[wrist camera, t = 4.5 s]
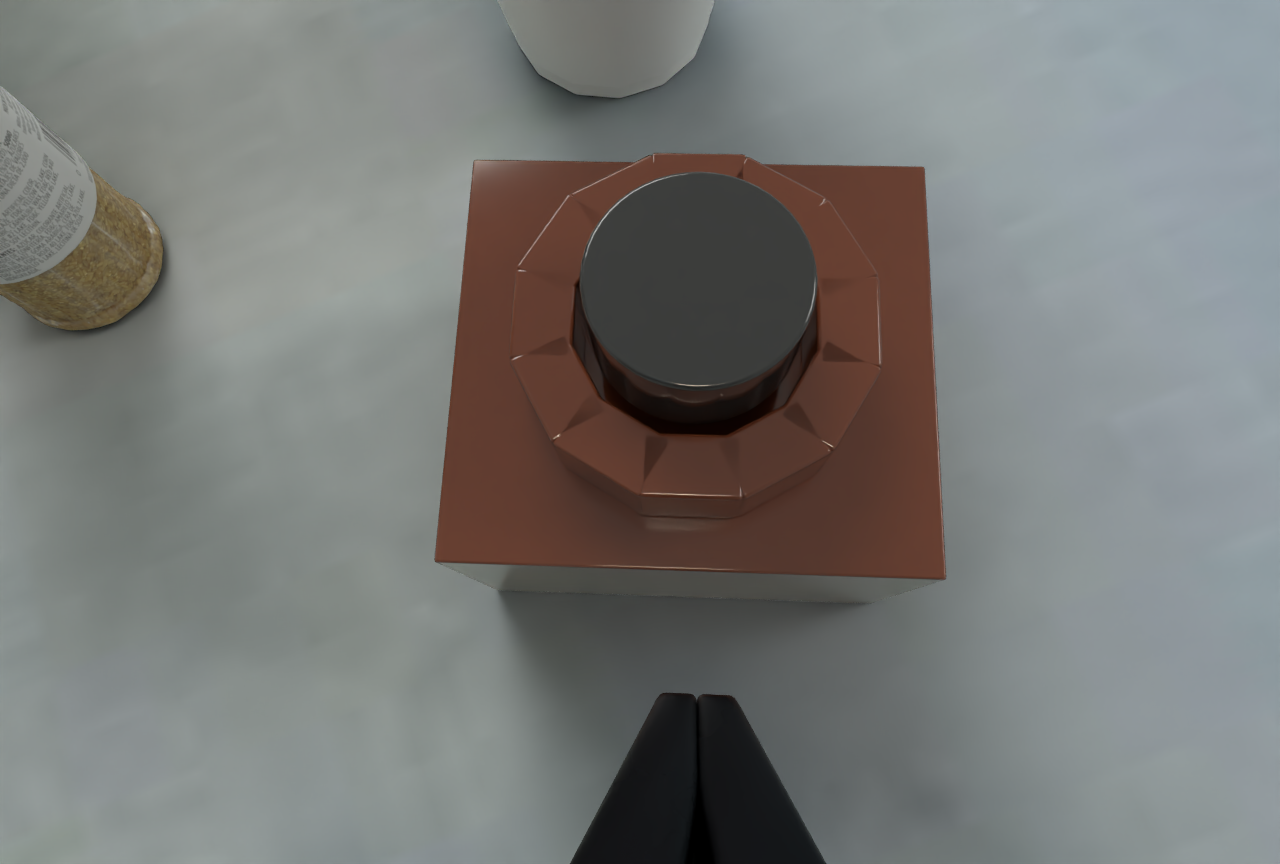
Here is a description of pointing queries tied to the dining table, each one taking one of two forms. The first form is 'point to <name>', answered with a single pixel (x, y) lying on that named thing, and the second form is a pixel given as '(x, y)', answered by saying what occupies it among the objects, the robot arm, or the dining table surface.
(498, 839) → the dining table surface
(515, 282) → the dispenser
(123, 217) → the sprinkles bottle
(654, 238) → the dark grey short cylinder
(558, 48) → the foam cup
